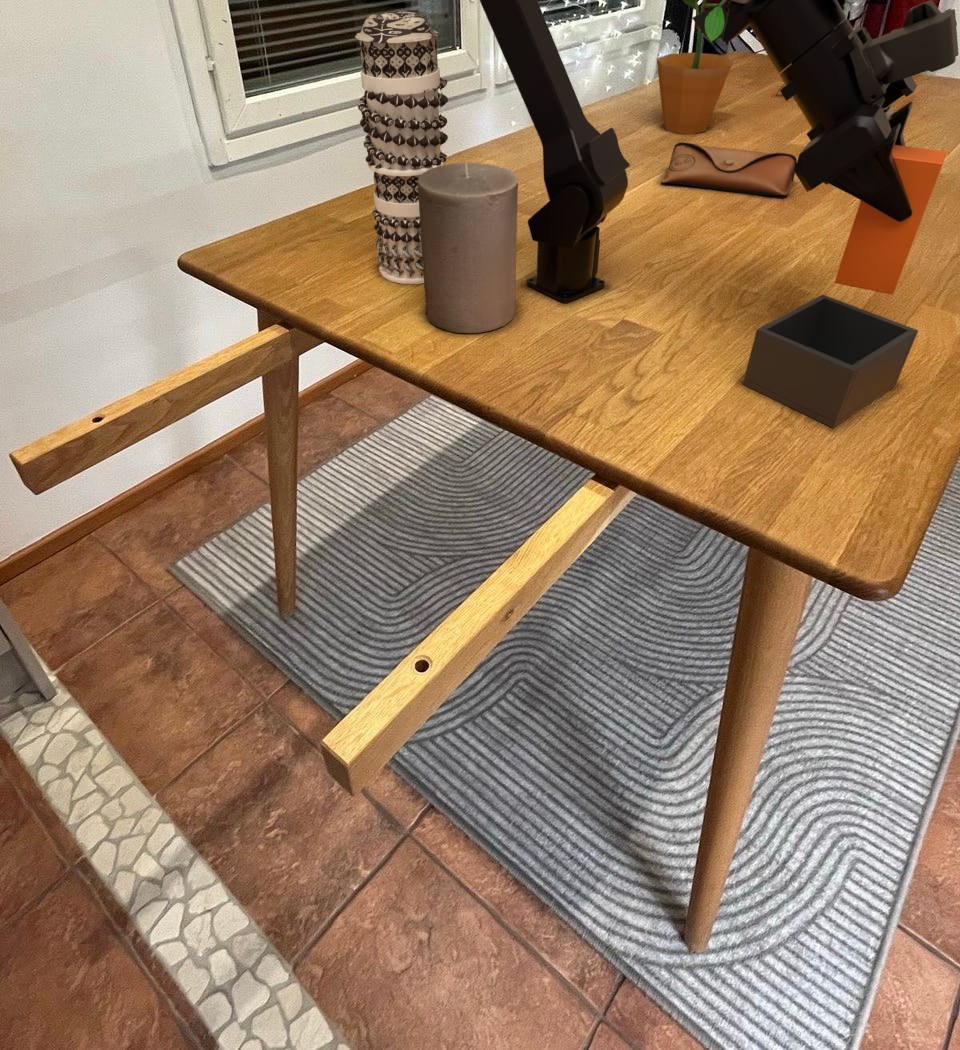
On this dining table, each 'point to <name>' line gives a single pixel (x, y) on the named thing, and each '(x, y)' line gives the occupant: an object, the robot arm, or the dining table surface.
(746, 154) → the sunglasses case
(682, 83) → the potted plant
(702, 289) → the dining table surface
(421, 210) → the pillar candle
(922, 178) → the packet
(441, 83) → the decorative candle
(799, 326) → the trash bin
